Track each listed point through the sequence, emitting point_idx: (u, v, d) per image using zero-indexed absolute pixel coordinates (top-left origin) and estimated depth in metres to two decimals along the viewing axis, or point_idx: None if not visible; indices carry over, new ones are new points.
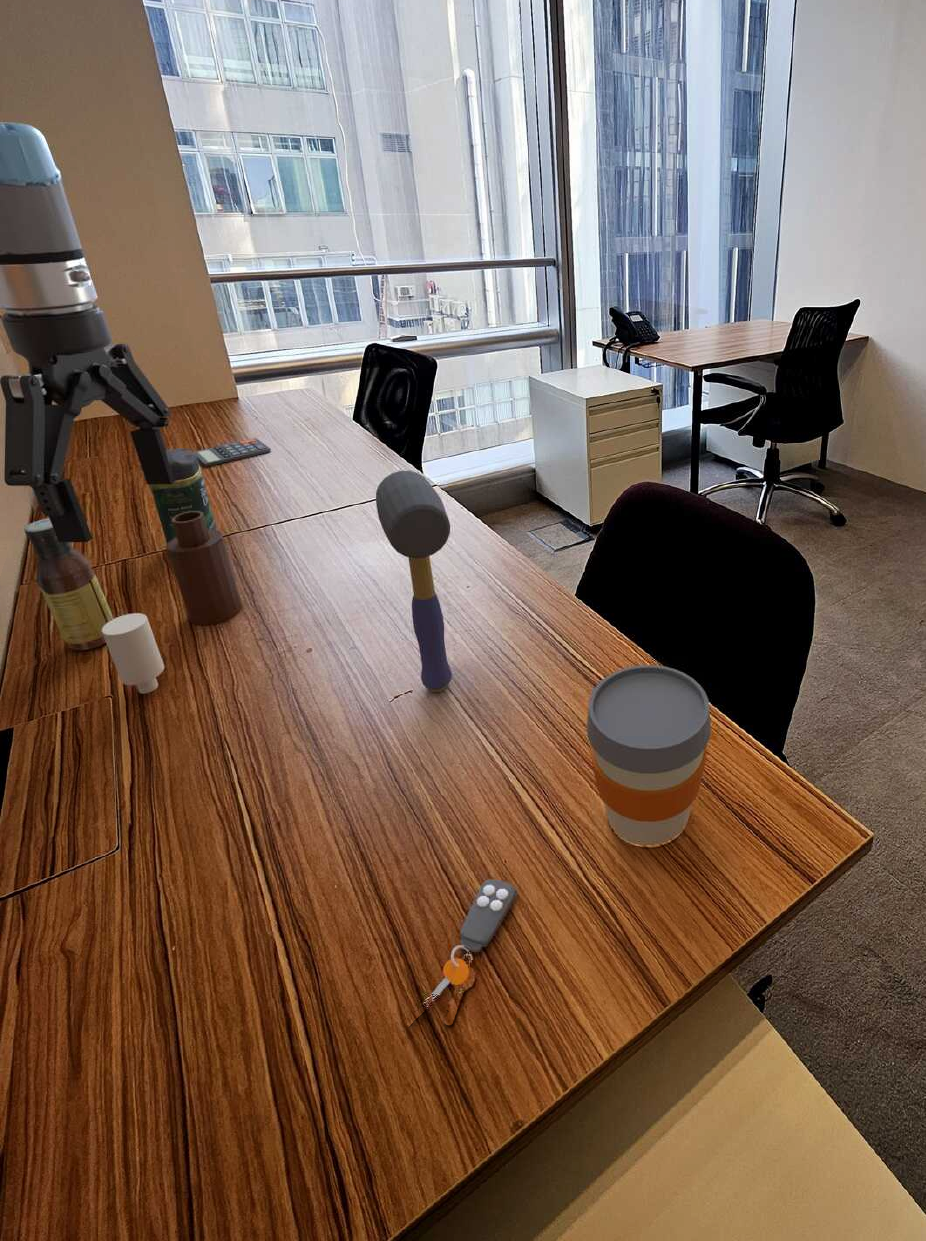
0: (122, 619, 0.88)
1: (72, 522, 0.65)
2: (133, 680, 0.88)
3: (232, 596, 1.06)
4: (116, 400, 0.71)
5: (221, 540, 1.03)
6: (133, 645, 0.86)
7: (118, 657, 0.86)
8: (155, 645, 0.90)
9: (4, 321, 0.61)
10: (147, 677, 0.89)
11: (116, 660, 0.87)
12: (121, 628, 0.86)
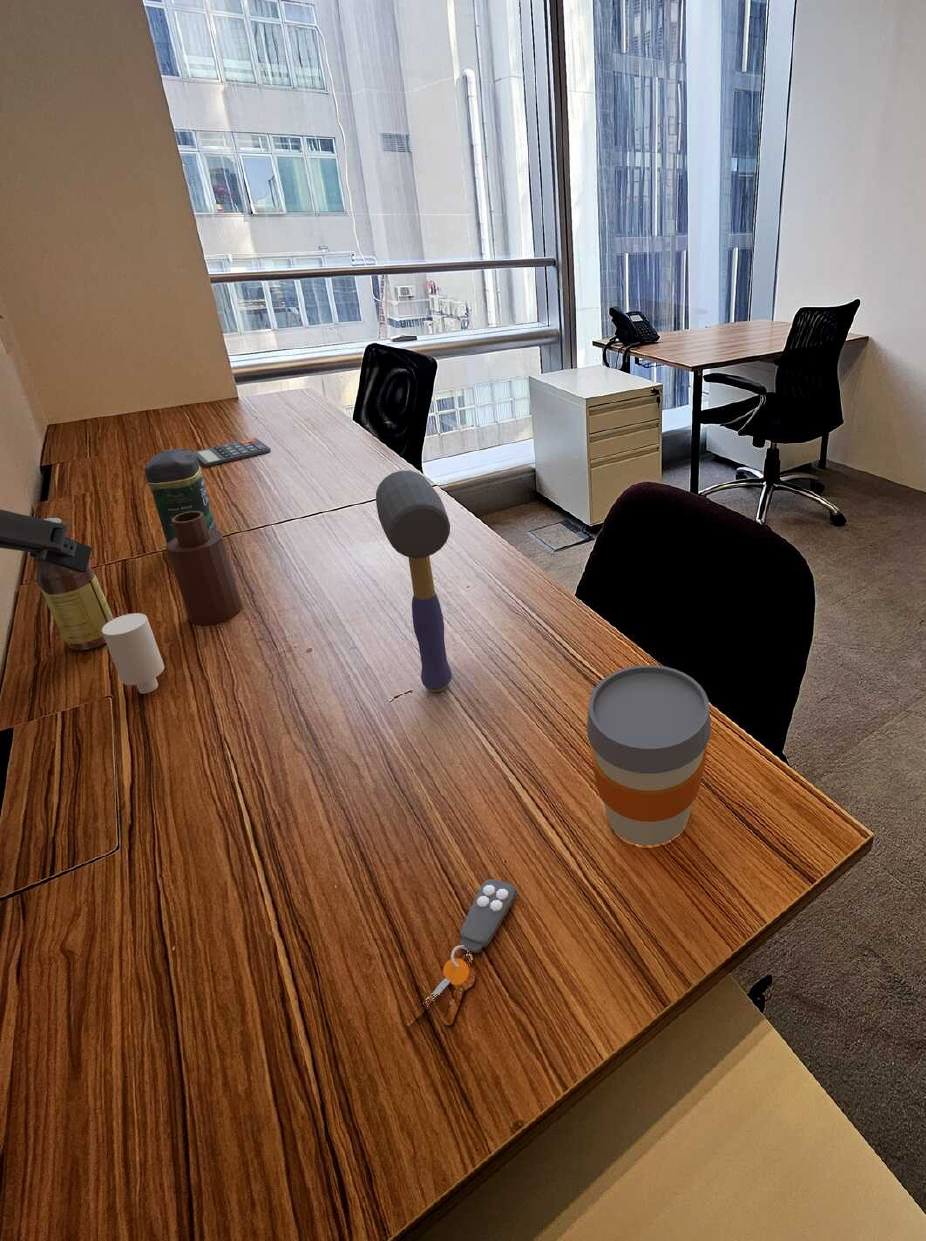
0: (122, 619, 0.88)
1: None
2: (133, 680, 0.88)
3: (232, 596, 1.06)
4: None
5: (221, 540, 1.03)
6: (133, 645, 0.86)
7: (118, 657, 0.86)
8: (155, 645, 0.90)
9: None
10: (147, 677, 0.89)
11: (116, 660, 0.87)
12: (121, 628, 0.86)
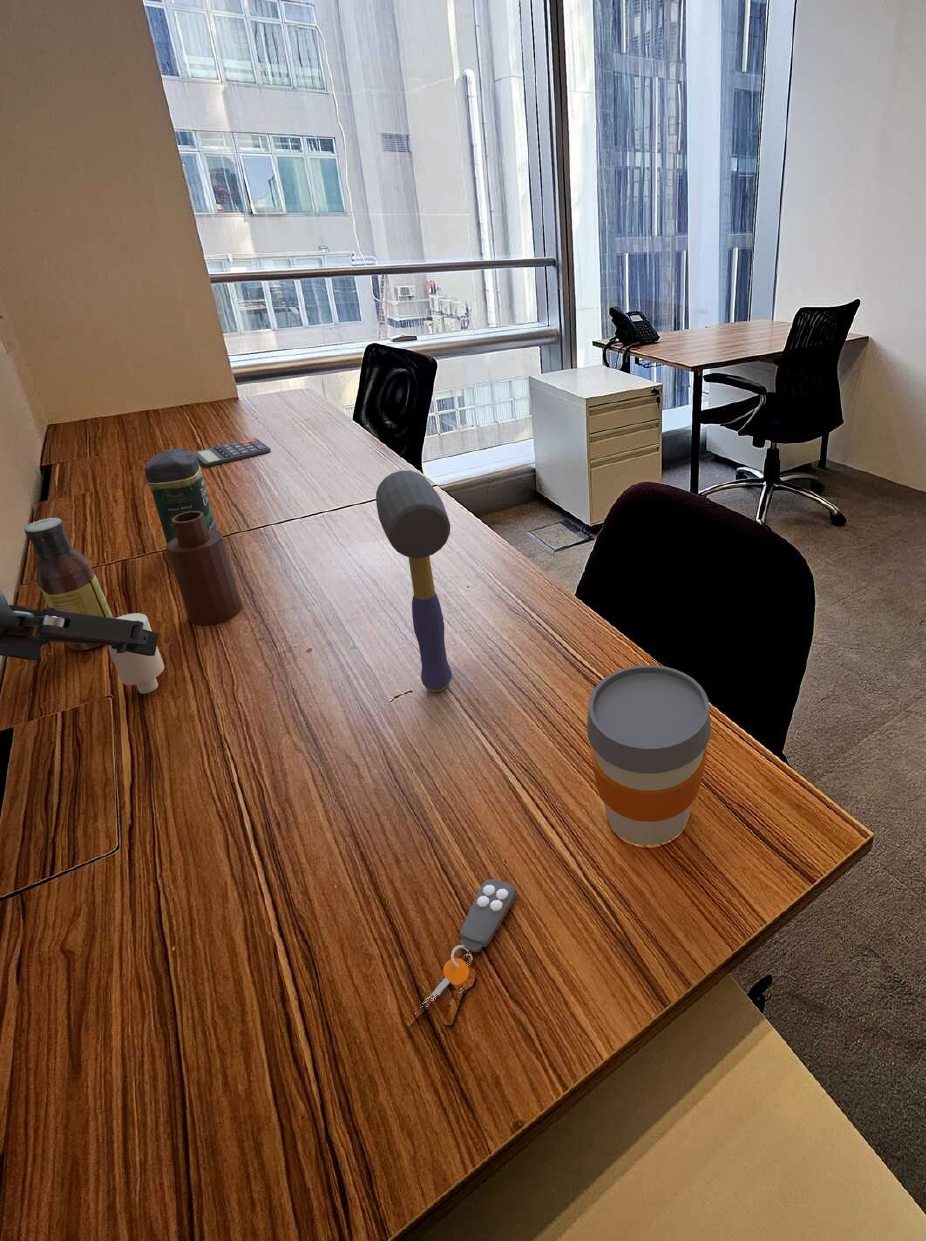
0: None
1: None
2: (133, 680, 0.88)
3: (232, 596, 1.06)
4: None
5: (221, 540, 1.03)
6: None
7: (118, 657, 0.86)
8: None
9: None
10: (147, 677, 0.89)
11: (116, 660, 0.87)
12: None
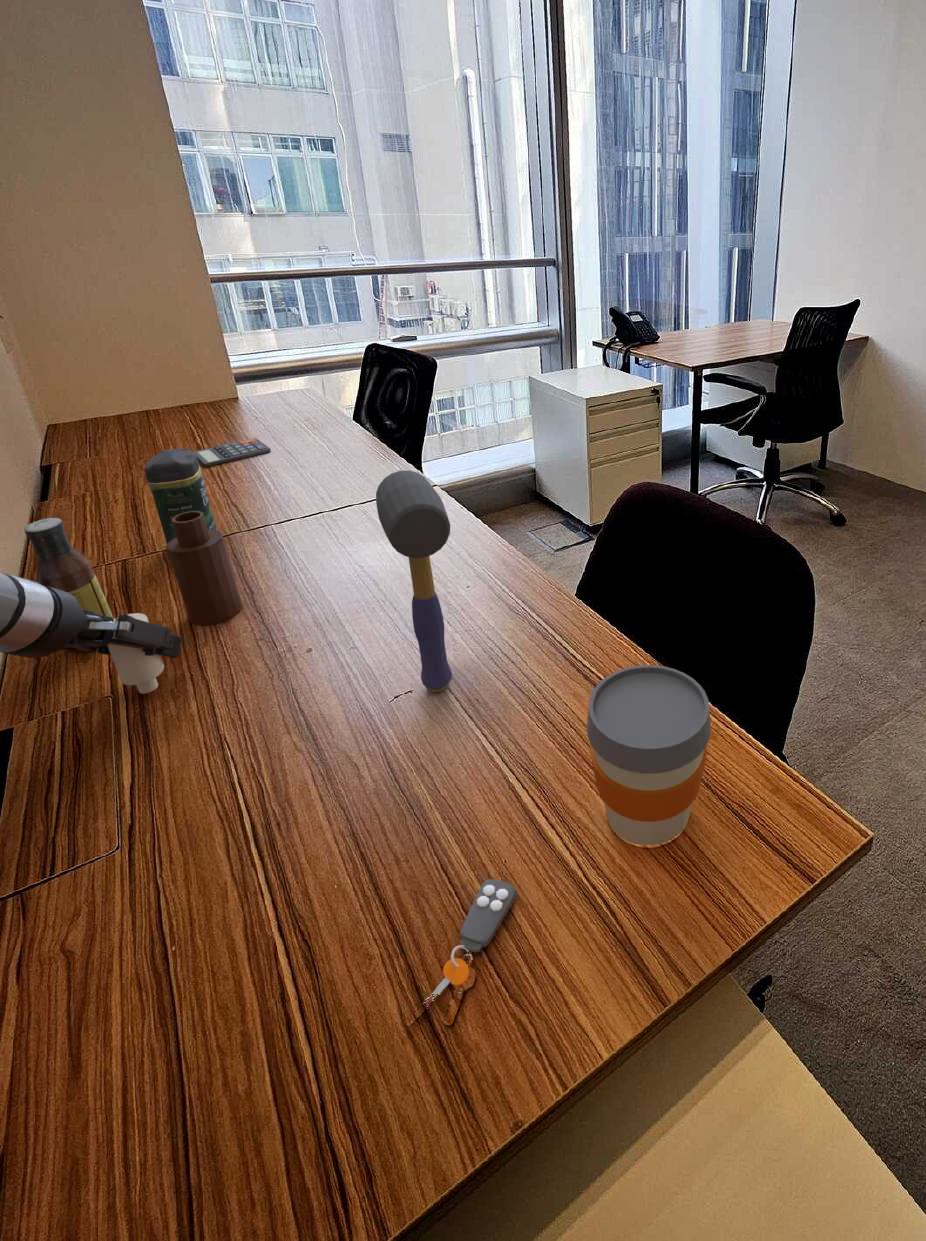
0: None
1: None
2: (133, 680, 0.88)
3: (232, 596, 1.06)
4: None
5: (221, 540, 1.03)
6: None
7: (118, 657, 0.86)
8: None
9: None
10: (147, 677, 0.89)
11: (116, 660, 0.87)
12: None
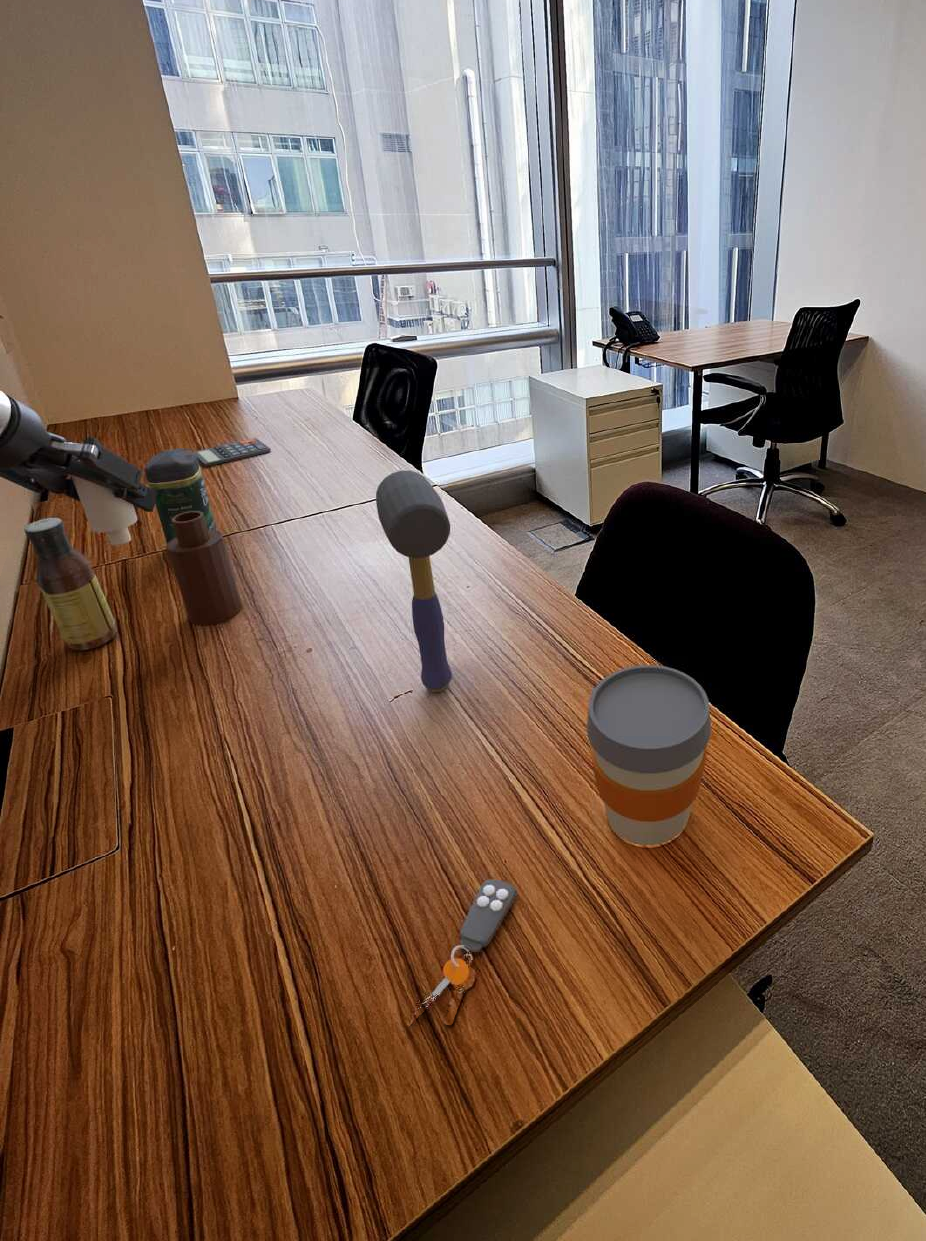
0: None
1: None
2: (103, 527, 0.83)
3: (232, 596, 1.06)
4: None
5: (221, 540, 1.03)
6: (103, 487, 0.82)
7: (86, 499, 0.82)
8: None
9: None
10: (118, 525, 0.84)
11: (85, 503, 0.82)
12: None
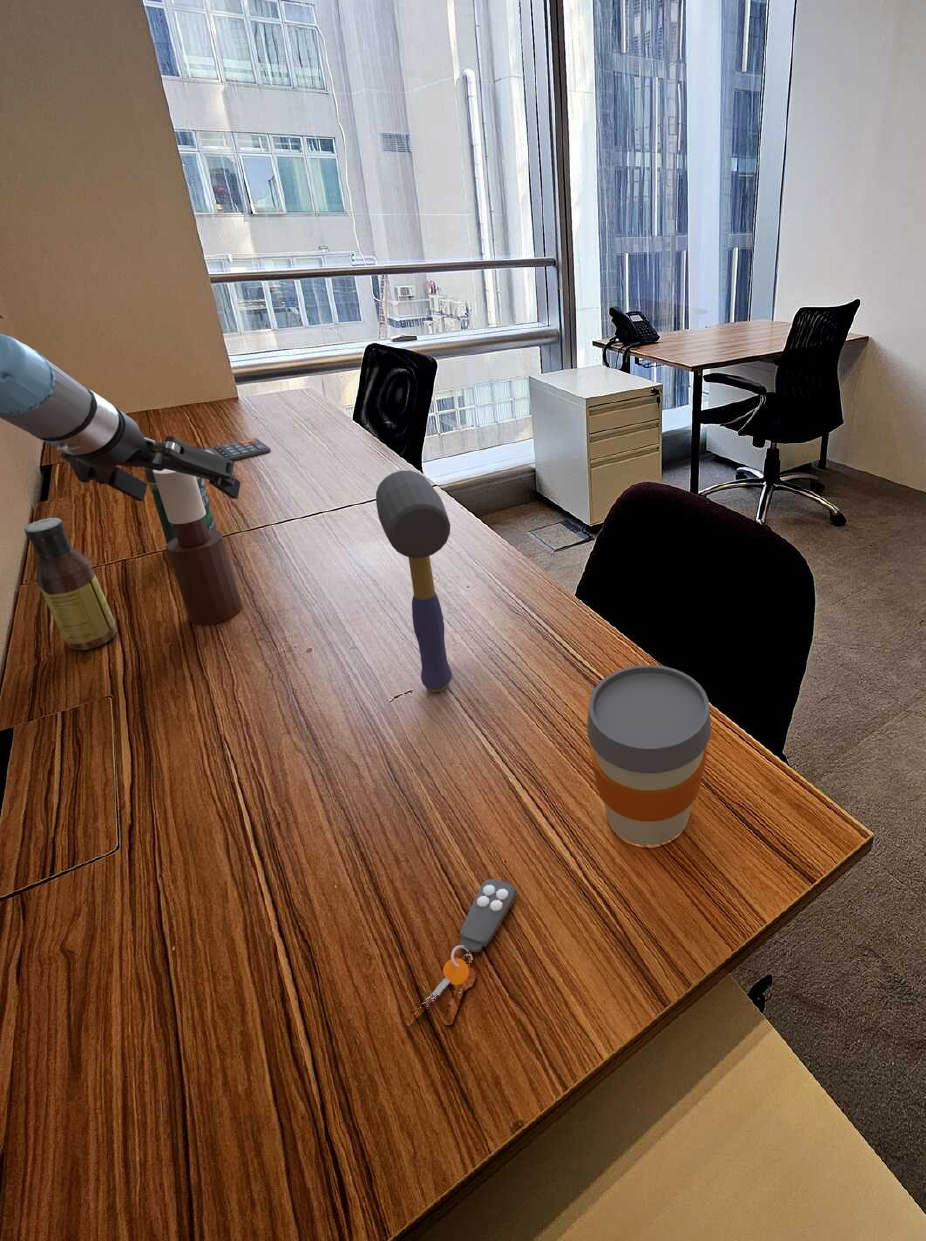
0: None
1: None
2: (180, 519, 0.98)
3: (232, 596, 1.06)
4: None
5: (221, 540, 1.03)
6: (180, 485, 0.97)
7: (167, 495, 0.97)
8: (198, 490, 1.00)
9: None
10: (192, 517, 0.99)
11: (165, 499, 0.97)
12: None
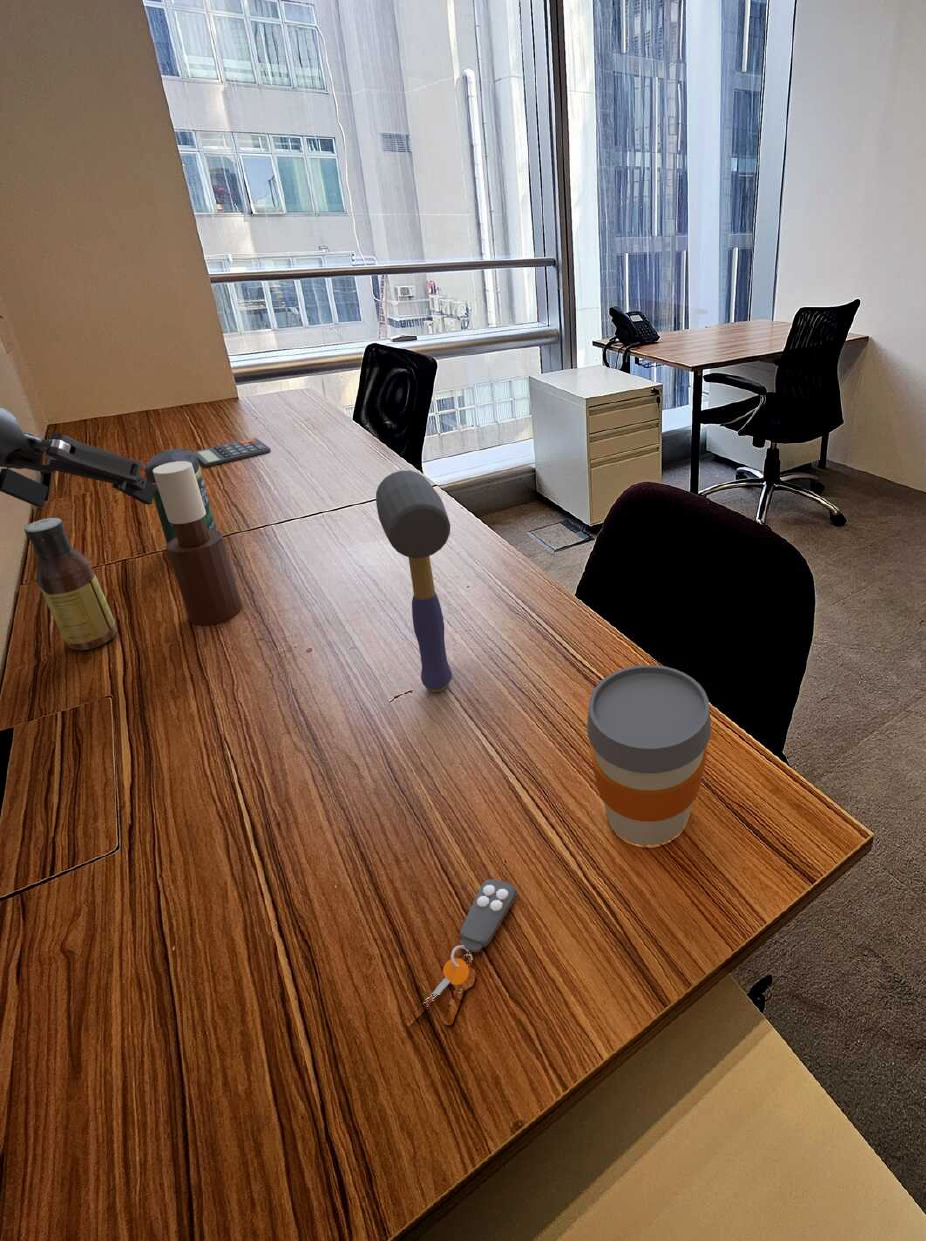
0: (170, 464, 0.98)
1: None
2: (180, 519, 0.98)
3: (232, 596, 1.06)
4: None
5: (221, 540, 1.03)
6: (180, 485, 0.97)
7: (167, 495, 0.97)
8: (198, 490, 1.00)
9: None
10: (192, 517, 0.99)
11: (165, 499, 0.97)
12: (169, 469, 0.97)
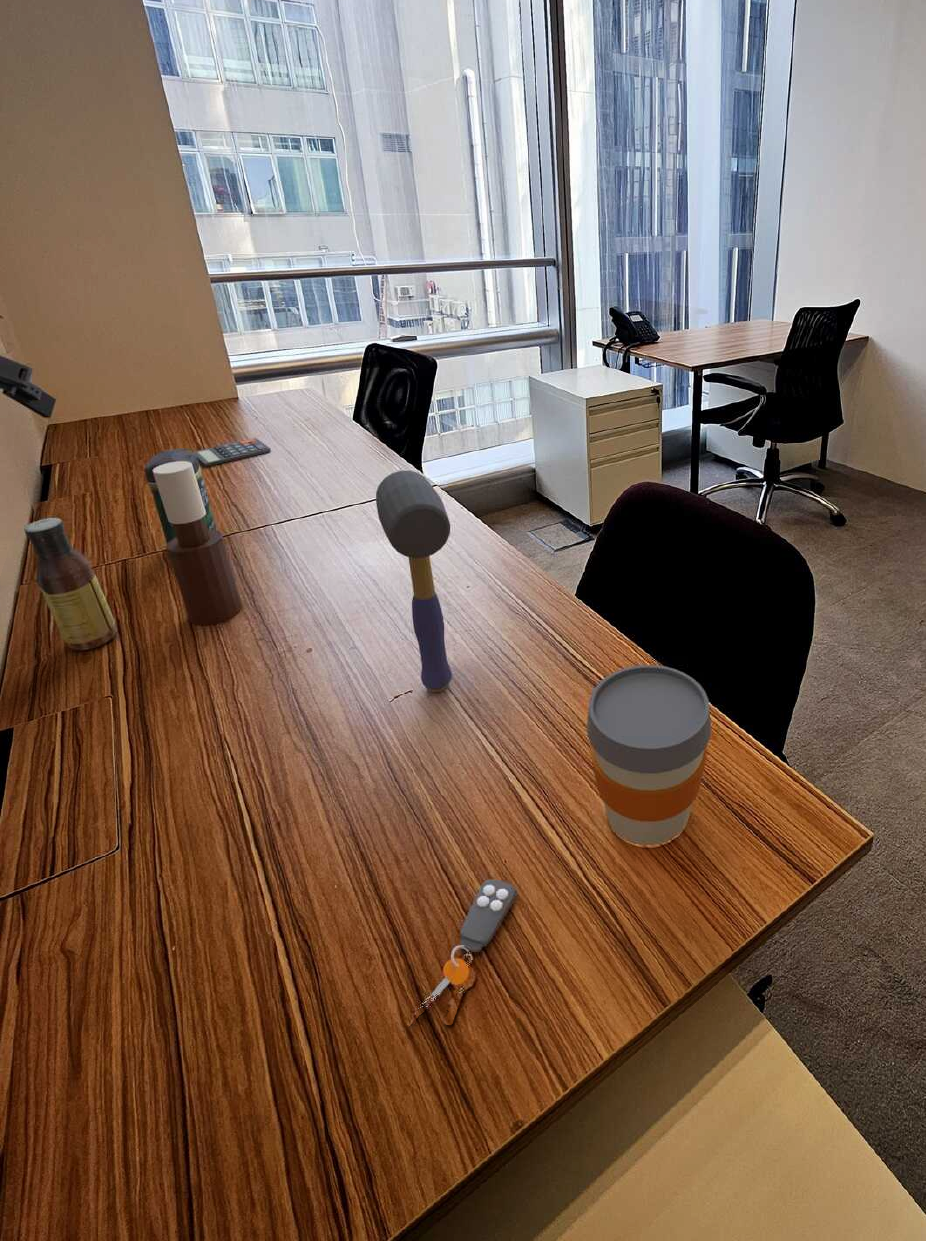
0: (170, 464, 0.98)
1: None
2: (180, 519, 0.98)
3: (232, 596, 1.06)
4: None
5: (221, 540, 1.03)
6: (180, 485, 0.97)
7: (167, 495, 0.97)
8: (198, 490, 1.00)
9: None
10: (192, 517, 0.99)
11: (165, 499, 0.97)
12: (169, 469, 0.97)
